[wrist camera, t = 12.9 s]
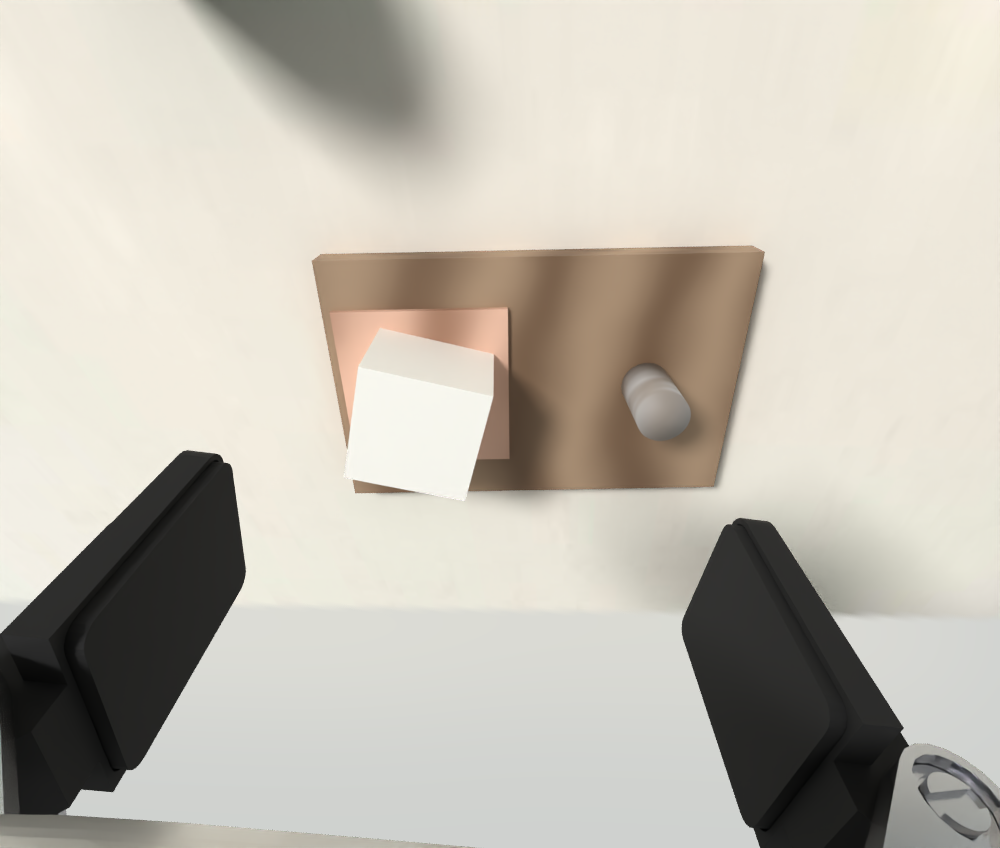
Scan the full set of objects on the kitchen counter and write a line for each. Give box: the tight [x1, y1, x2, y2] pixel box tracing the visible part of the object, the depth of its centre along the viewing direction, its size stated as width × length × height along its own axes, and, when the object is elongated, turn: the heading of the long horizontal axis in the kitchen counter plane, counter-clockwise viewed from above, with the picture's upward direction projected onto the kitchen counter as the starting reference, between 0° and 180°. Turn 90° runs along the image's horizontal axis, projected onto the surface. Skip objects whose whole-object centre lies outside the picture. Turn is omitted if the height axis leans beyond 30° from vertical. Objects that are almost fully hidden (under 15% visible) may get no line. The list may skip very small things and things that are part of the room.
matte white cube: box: [344, 328, 494, 501], centre depth 27 cm, size 6×6×5 cm
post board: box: [312, 246, 765, 493], centre depth 29 cm, size 22×14×5 cm, turn 91°
